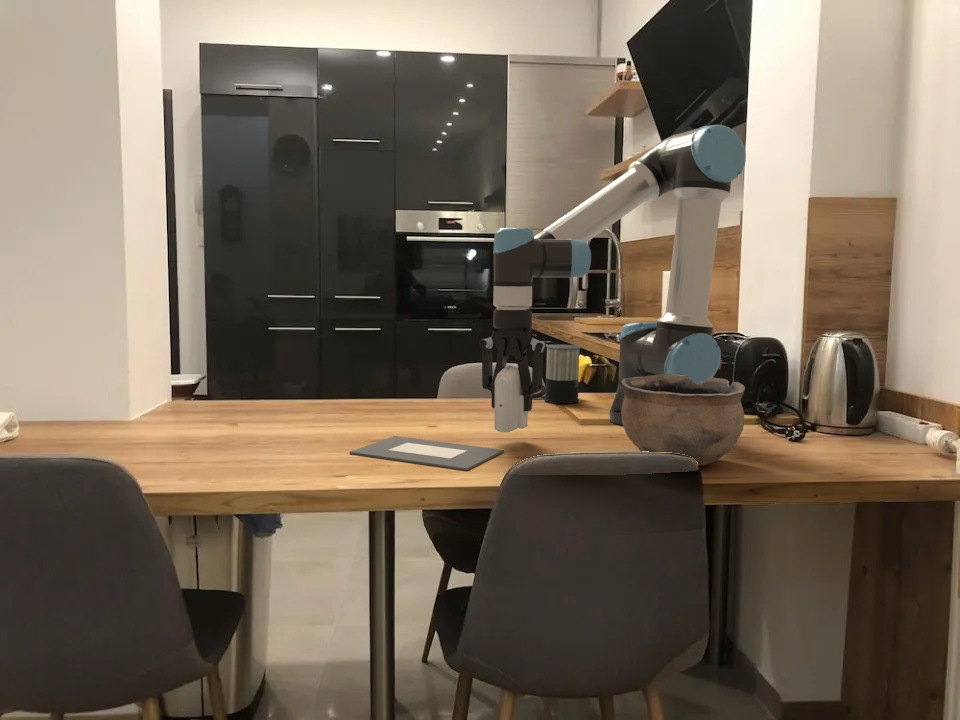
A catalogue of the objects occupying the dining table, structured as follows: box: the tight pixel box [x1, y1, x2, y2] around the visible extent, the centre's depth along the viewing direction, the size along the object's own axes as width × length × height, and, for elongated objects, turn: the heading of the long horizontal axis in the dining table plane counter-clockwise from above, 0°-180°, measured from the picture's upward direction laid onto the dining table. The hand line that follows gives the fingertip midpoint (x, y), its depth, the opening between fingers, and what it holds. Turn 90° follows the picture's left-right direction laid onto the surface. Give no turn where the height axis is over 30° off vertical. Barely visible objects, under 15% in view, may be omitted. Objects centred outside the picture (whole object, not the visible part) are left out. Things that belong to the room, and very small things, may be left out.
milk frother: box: [532, 344, 582, 405], centre depth 208 cm, size 14×16×15 cm
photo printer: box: [494, 364, 523, 433], centre depth 154 cm, size 10×4×12 cm, turn 157°
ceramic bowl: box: [621, 374, 746, 466], centre depth 142 cm, size 22×22×15 cm
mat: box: [349, 435, 505, 471], centre depth 146 cm, size 24×16×1 cm, turn 65°
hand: (511, 425), depth 155 cm, fingers closed on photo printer, 4 cm apart
